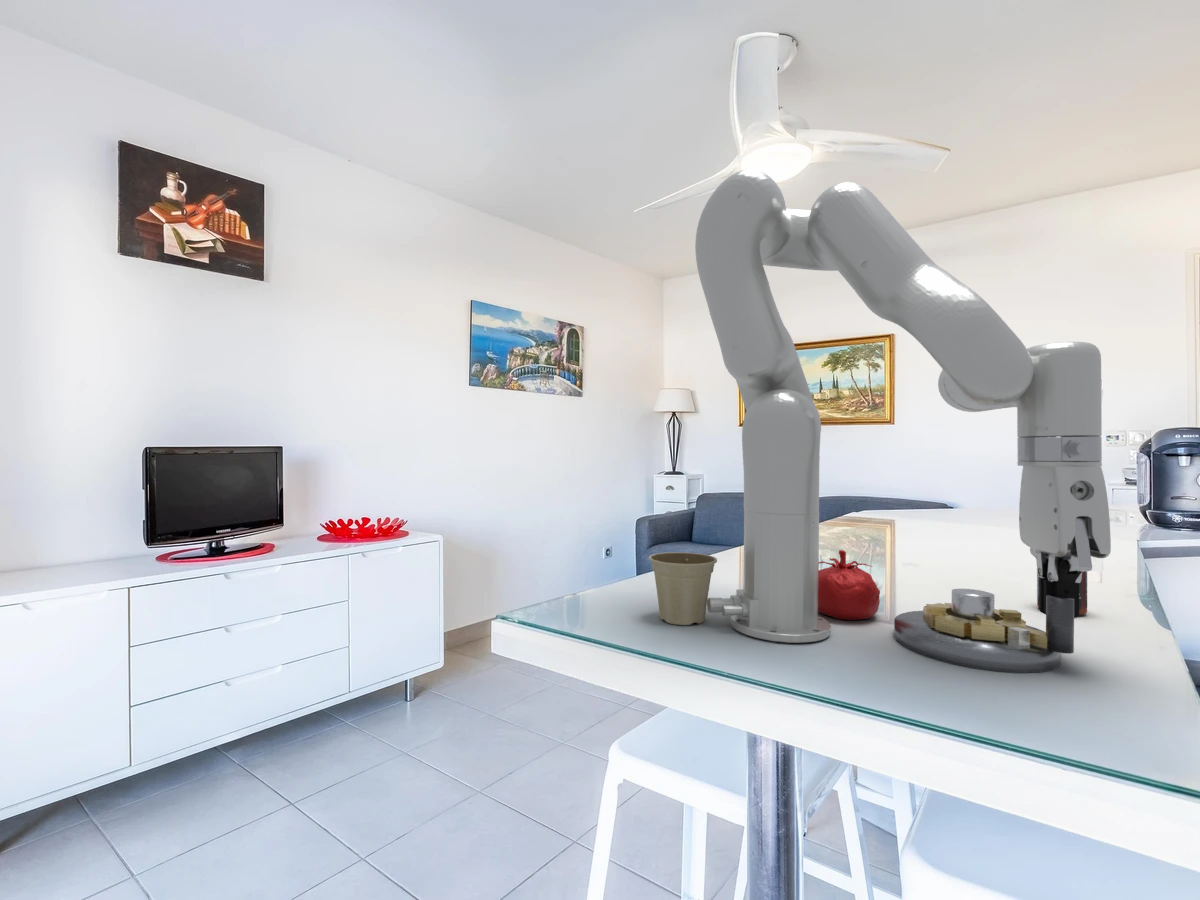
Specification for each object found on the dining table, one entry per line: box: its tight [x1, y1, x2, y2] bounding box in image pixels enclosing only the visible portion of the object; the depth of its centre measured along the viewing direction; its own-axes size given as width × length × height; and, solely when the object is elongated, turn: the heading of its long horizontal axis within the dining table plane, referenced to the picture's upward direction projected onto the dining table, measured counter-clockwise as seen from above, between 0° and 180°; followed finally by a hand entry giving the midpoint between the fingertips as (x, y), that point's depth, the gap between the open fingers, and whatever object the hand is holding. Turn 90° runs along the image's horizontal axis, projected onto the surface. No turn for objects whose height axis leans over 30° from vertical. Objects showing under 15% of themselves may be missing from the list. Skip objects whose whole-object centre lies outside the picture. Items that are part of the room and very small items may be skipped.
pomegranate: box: [818, 549, 881, 621], centre depth 84 cm, size 10×10×9 cm
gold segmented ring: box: [922, 595, 1075, 655], centre depth 69 cm, size 15×10×6 cm, turn 30°
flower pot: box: [648, 551, 718, 626], centre depth 81 cm, size 9×9×9 cm
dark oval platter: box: [893, 588, 1062, 674], centre depth 71 cm, size 17×17×6 cm
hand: (1058, 614), depth 66 cm, fingers closed
